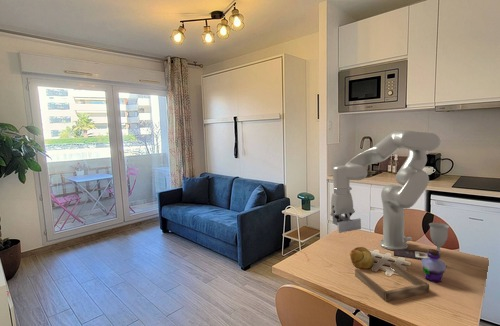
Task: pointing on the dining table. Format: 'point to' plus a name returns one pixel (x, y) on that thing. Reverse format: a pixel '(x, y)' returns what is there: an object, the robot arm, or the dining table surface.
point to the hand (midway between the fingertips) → (343, 226)
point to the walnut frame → (399, 293)
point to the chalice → (438, 234)
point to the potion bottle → (433, 266)
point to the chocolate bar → (411, 254)
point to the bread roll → (361, 258)
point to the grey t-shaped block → (347, 224)
